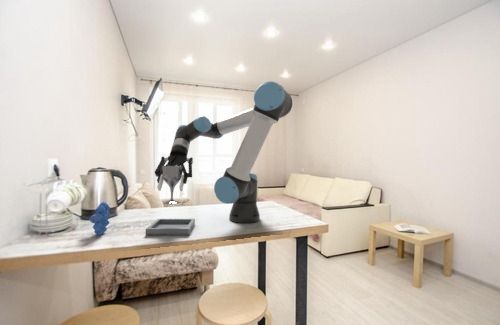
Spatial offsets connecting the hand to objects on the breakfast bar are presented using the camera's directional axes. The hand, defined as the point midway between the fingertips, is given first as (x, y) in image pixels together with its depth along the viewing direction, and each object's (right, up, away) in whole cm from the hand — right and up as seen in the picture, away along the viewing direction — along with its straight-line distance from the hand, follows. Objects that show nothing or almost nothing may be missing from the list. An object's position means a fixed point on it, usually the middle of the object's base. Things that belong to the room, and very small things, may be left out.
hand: (169, 188), depth 90 cm
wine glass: (0, -6, +3) cm, 7 cm away
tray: (0, -17, +3) cm, 18 cm away
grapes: (-26, -17, -4) cm, 31 cm away
